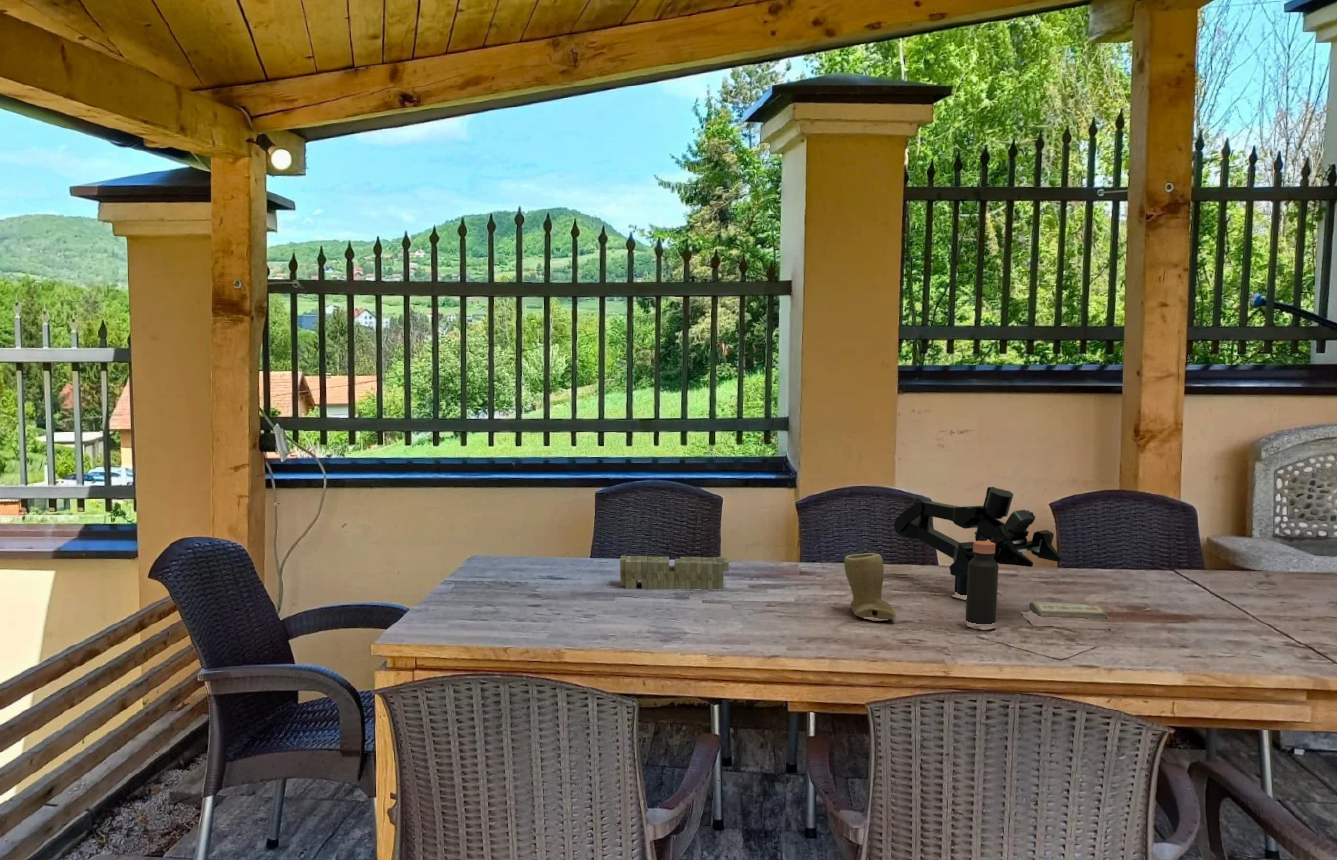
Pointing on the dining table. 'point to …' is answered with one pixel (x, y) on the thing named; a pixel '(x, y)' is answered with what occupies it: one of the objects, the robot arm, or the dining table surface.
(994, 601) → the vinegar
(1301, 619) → the dining table surface
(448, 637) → the dining table surface
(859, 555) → the olive green boot
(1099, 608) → the packaged product
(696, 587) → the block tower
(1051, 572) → the dining table surface
